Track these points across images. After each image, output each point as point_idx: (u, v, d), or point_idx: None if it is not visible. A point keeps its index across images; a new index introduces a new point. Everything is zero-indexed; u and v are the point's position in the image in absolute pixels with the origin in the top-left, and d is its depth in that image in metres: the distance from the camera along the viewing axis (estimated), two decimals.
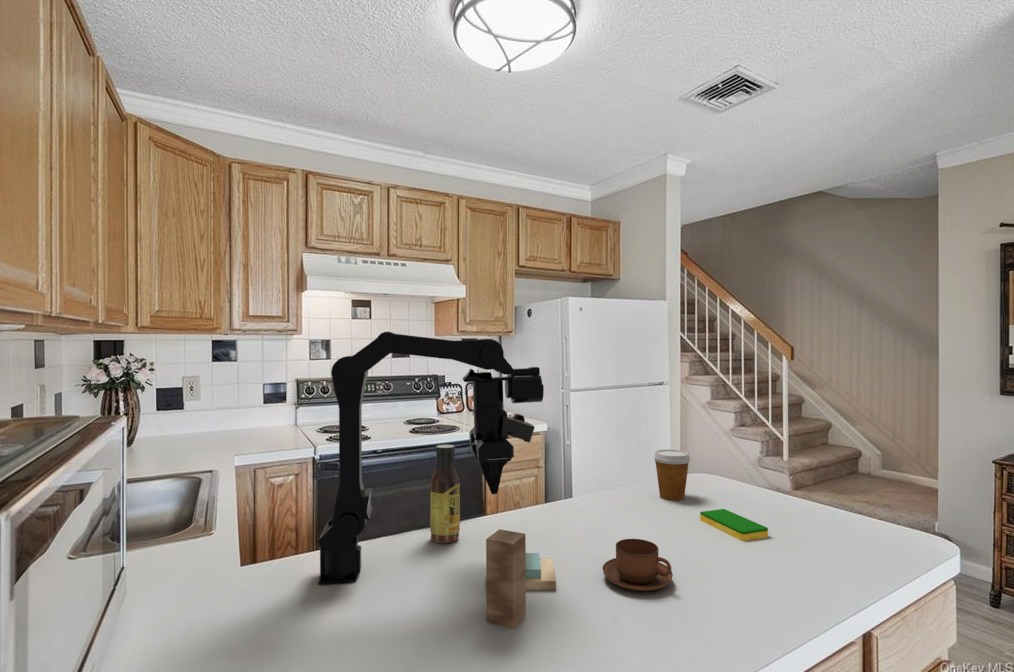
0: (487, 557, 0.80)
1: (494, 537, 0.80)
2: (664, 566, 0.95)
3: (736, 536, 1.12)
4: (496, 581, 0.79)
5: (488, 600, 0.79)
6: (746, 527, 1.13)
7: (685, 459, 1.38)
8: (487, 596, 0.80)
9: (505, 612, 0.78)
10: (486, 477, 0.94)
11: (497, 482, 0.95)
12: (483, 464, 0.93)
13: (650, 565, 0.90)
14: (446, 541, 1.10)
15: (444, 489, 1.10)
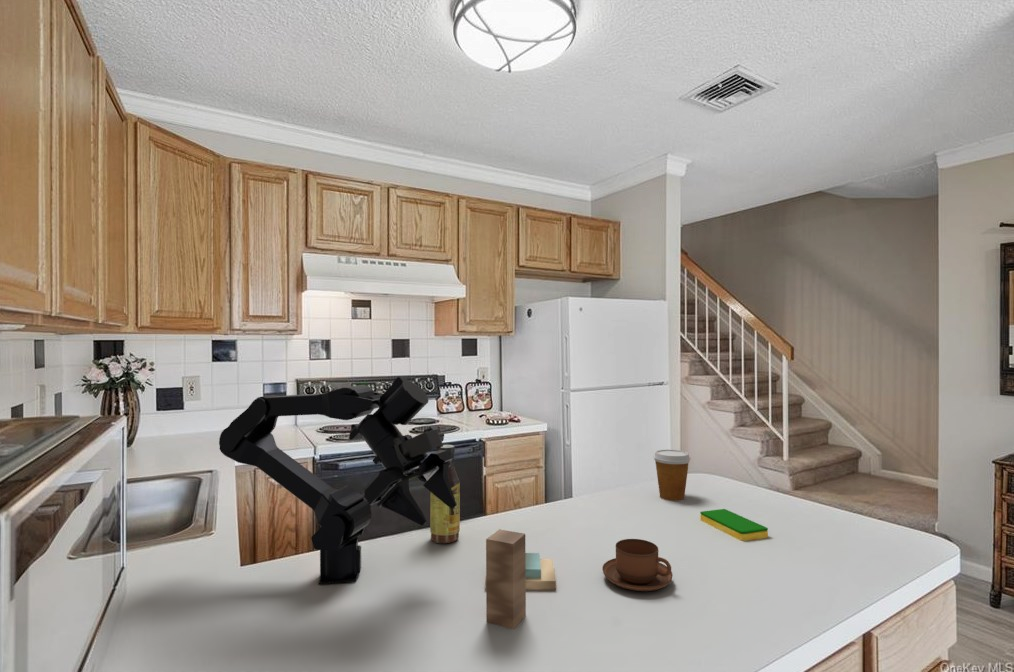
0: (487, 557, 0.80)
1: (494, 537, 0.80)
2: (664, 566, 0.95)
3: (736, 536, 1.13)
4: (496, 581, 0.79)
5: (488, 600, 0.79)
6: (745, 527, 1.13)
7: (685, 459, 1.38)
8: (487, 596, 0.80)
9: (505, 612, 0.78)
10: (402, 514, 0.84)
11: (415, 511, 0.83)
12: (388, 504, 0.84)
13: (649, 565, 0.90)
14: (446, 541, 1.10)
15: None
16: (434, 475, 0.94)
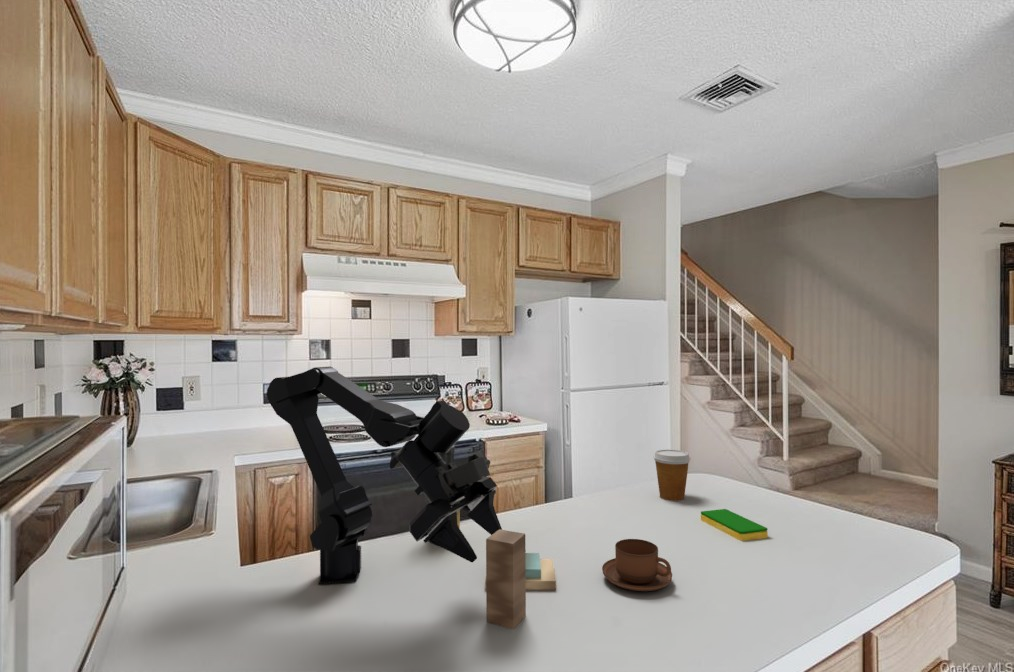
0: (487, 557, 0.80)
1: (494, 537, 0.80)
2: (664, 566, 0.95)
3: (735, 535, 1.13)
4: (496, 581, 0.79)
5: (488, 600, 0.79)
6: (745, 527, 1.13)
7: (685, 459, 1.38)
8: (487, 596, 0.80)
9: (505, 612, 0.78)
10: (450, 550, 0.78)
11: (464, 547, 0.78)
12: (435, 540, 0.79)
13: (649, 565, 0.90)
14: None
15: None
16: (479, 504, 0.89)
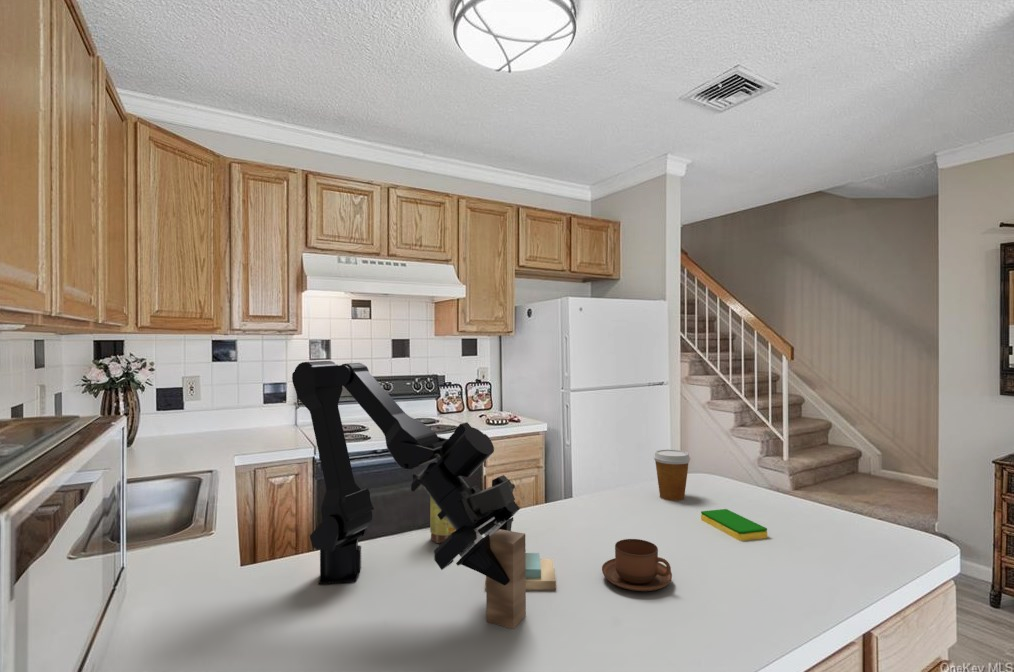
0: None
1: (494, 537, 0.80)
2: (663, 566, 0.95)
3: (734, 535, 1.13)
4: (496, 581, 0.79)
5: (488, 600, 0.79)
6: (744, 527, 1.13)
7: (685, 459, 1.38)
8: (487, 596, 0.80)
9: (505, 612, 0.78)
10: (483, 573, 0.78)
11: (497, 570, 0.78)
12: (467, 562, 0.79)
13: (649, 565, 0.90)
14: None
15: None
16: None
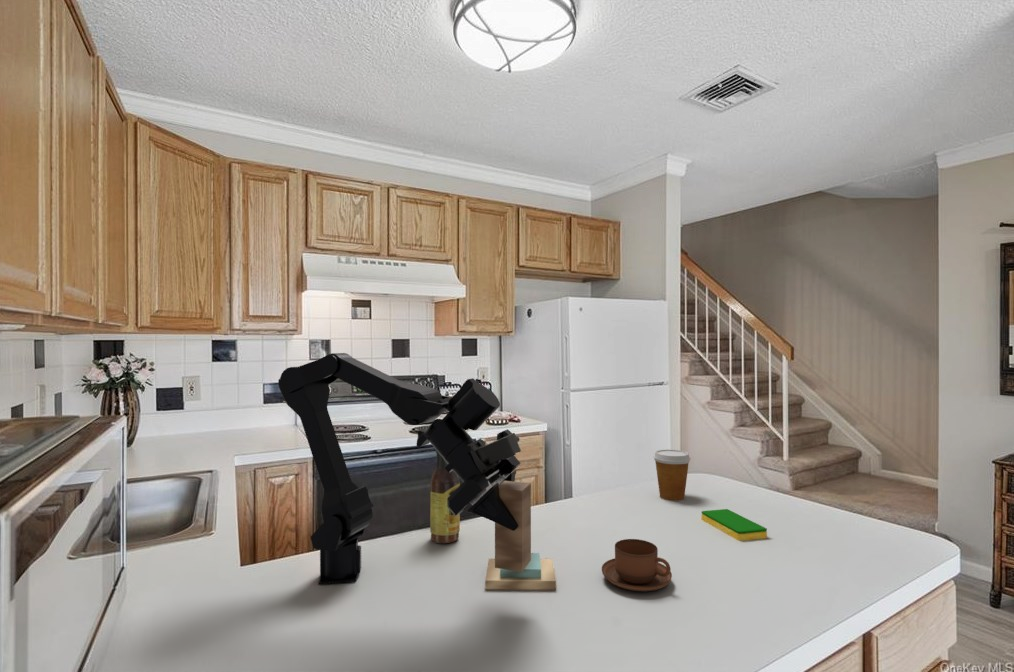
0: None
1: (502, 486, 0.83)
2: (663, 566, 0.95)
3: (733, 535, 1.13)
4: (505, 527, 0.82)
5: (497, 546, 0.82)
6: (744, 527, 1.13)
7: (685, 459, 1.38)
8: (496, 543, 0.83)
9: (514, 556, 0.82)
10: (492, 519, 0.81)
11: (507, 516, 0.81)
12: (478, 510, 0.81)
13: (649, 565, 0.90)
14: (446, 541, 1.10)
15: (444, 489, 1.10)
16: None
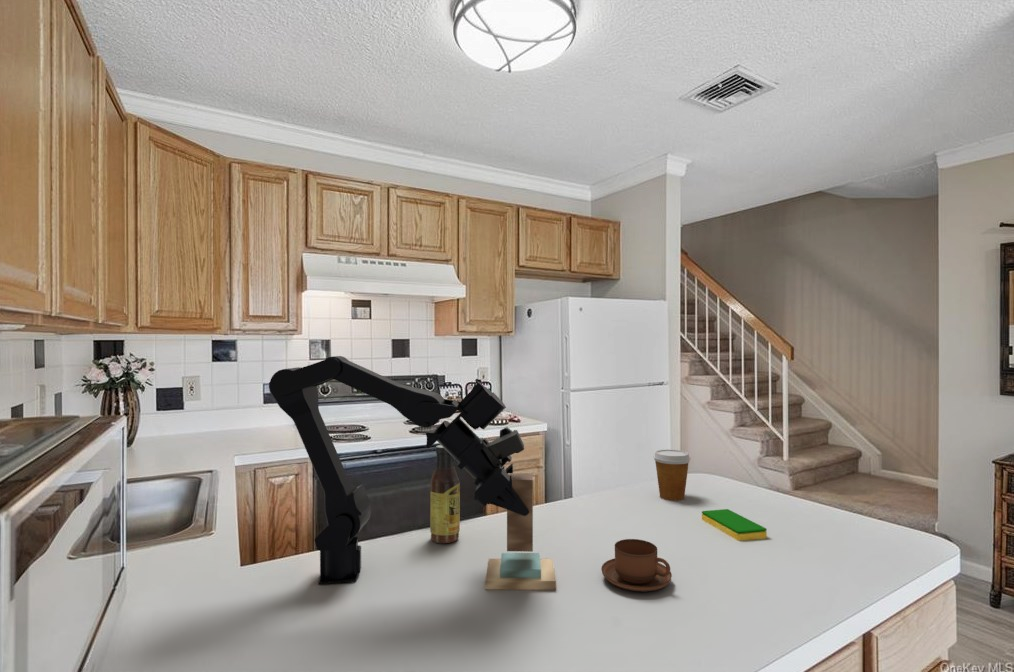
0: None
1: (512, 478, 0.93)
2: (663, 566, 0.95)
3: (733, 535, 1.13)
4: (517, 514, 0.92)
5: (509, 531, 0.92)
6: (743, 527, 1.13)
7: (685, 459, 1.38)
8: (508, 529, 0.92)
9: (525, 539, 0.92)
10: (507, 508, 0.91)
11: (520, 504, 0.91)
12: (494, 501, 0.90)
13: (648, 565, 0.90)
14: (446, 541, 1.10)
15: (444, 489, 1.10)
16: None
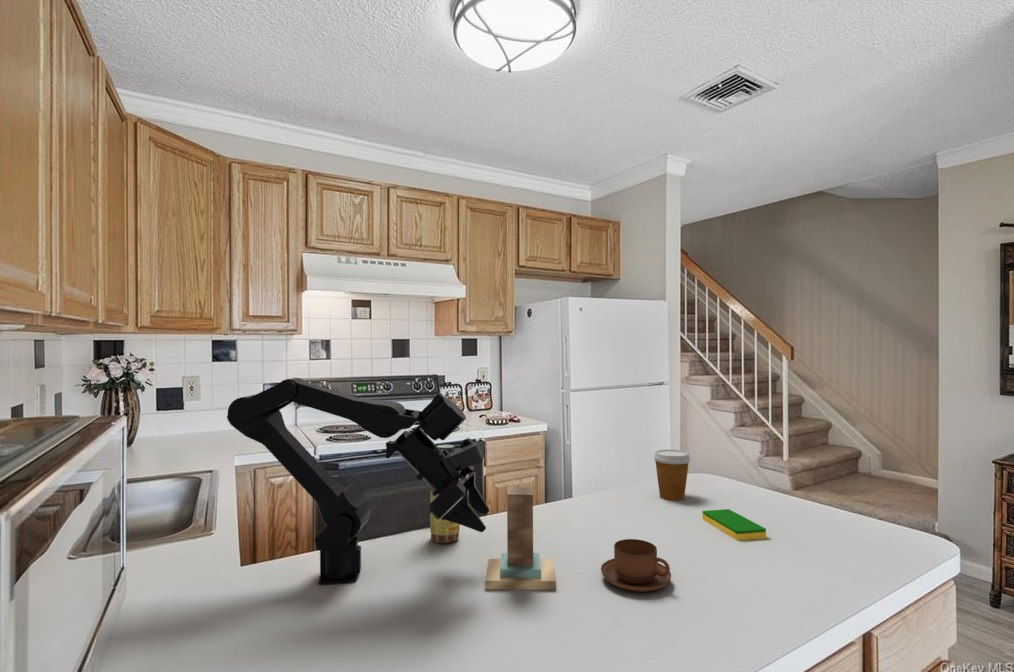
0: (508, 510, 0.92)
1: (512, 492, 0.93)
2: (663, 566, 0.95)
3: (732, 535, 1.13)
4: (517, 529, 0.92)
5: (509, 546, 0.92)
6: (743, 527, 1.13)
7: (685, 459, 1.38)
8: (508, 543, 0.92)
9: (525, 553, 0.92)
10: (463, 524, 0.89)
11: (476, 520, 0.89)
12: (450, 517, 0.88)
13: (648, 565, 0.90)
14: (446, 541, 1.10)
15: None
16: (464, 485, 1.00)
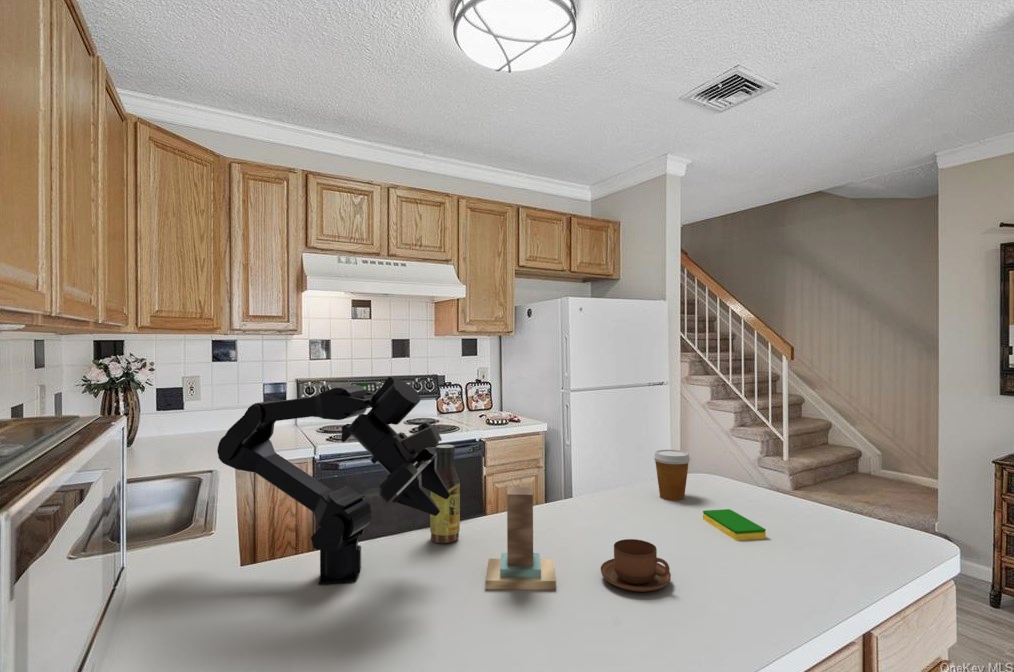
0: (508, 510, 0.92)
1: (512, 492, 0.93)
2: (662, 567, 0.95)
3: (731, 535, 1.13)
4: (517, 529, 0.92)
5: (509, 546, 0.92)
6: (742, 527, 1.13)
7: (685, 459, 1.38)
8: (508, 543, 0.92)
9: (525, 553, 0.92)
10: (416, 507, 0.87)
11: (429, 503, 0.87)
12: (401, 500, 0.86)
13: (648, 565, 0.90)
14: (446, 541, 1.10)
15: None
16: (424, 469, 0.98)
